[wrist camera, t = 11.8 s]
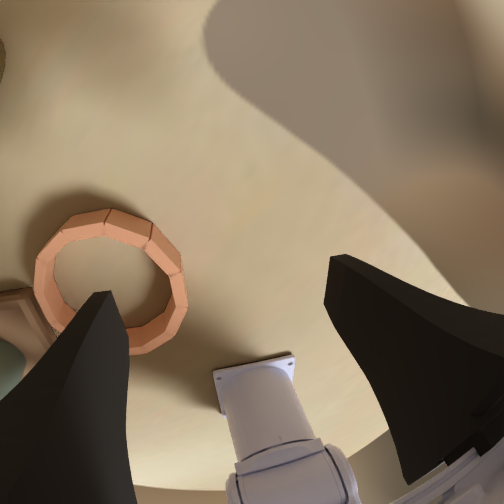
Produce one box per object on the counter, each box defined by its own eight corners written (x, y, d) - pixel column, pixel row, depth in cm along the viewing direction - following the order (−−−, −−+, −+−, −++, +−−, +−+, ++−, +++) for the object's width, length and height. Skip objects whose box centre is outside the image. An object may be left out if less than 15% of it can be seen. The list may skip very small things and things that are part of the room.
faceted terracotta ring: (194, 327, 22) (197, 346, 21) (75, 340, 20) (70, 359, 18) (171, 198, 17) (171, 210, 15) (26, 226, 15) (12, 240, 13)
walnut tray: (90, 389, 24) (89, 401, 22) (3, 387, 21) (0, 397, 20) (31, 287, 17) (24, 299, 16) (-56, 299, 15) (-63, 308, 13)
